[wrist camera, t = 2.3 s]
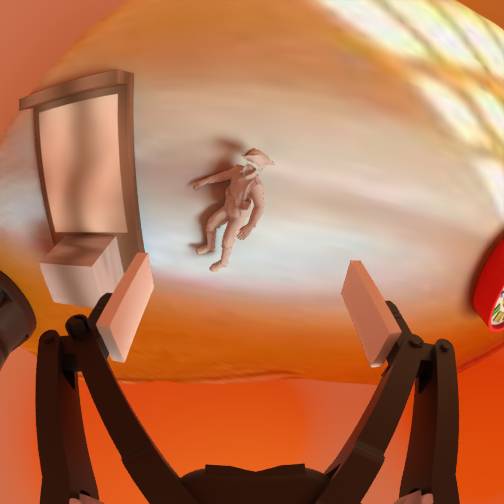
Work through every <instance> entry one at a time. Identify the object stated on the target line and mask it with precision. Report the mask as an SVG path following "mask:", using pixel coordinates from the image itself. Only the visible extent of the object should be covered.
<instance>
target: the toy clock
mask: <svg viewBox="0 0 504 504" xmlns="http://www.w3.org/2000/svg"><path fill="white" fill-rule="evenodd" d="M473 305H474V309H475V310H476V312H477V313H478V314H479V316H480V317H481V318H482V320H483V321H484V322H485V324H486V325H487V326H488V328H489V329H490V330H491V331H492V332H498V331H501V330H503V329H504V238H503V240H502V241H501V242H500V243H499V244H498V246H497V247H496V249H495V250H494V251H493V253H492V255H491V256H490V258H489V259H488V261H487V263H486V265H485V267H484V269H483V271H482V273H481V275H480V277H479V280H478V282H477V285H476V289H475V292H474V298H473Z"/></svg>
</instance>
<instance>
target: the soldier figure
mask: <svg viewBox="0 0 504 504" xmlns="http://www.w3.org/2000/svg"><path fill="white" fill-rule="evenodd" d="M242 156H243V157H244V158H246V159H247V160H248V161H250V162H253V163H256V164H258V165H259V166H260V169H261V168H262V169H263V168H264V166H265V165H269V164H271V165H274V162H273V161H271V160H270V159H269V157H268V156H267V155H266V154H264V153H263V152H262V151H260V150H256V149H255V148H252V149H249V150H247V151H245V152H244V154H242ZM257 170H259V169H257ZM230 179H231V183H230V185H229V186H228V188H227V190H226V193H225V197H226V201H225V204H224V206H223V207H221V208H220V209H219V210H218V211H216V212H215V213H214V214H213V215H212V216H211V217H210V218H209V219H208V221H207V223H208V224H207V225H206V229H205V230H206V233H207V245H205V246H203V247H200V248H198V249H197V250H196V252H197V254H205V253H206V252H208V251H210V252H213V251H215V245H214V244H215V237H216V228H219V227H220V225H223V224H225V223H226V222H227V221H228V223H227V227H226V229H225V232H224V236H223V240H222V248H223V249H222V256H221V260H219V261H218V262H216V263H214V264H212V265H211V267H210V268H209V269H210V270H211V271H212V272H216V271H218V270H219V269H220V268H221V267H226V266H227V264H228V257H229V255H230V253H231V249H232V247H231V246H232V245H233V244H234V242H235V239H236V237H238V236H239V235H240V234H241V233H242V234H241V235H240V236H239V237H238V239H239V238H240V237H241V238H240V240H241V239H242V240H244V239H245V238H246V237H247V236H248V235H249V234H250V232H251V230H252V229H253V227H255V226H256V224H257V221H258V220H259V218H260V216H261V214H262V211H263V208H264V201H263V200H264V197H263V194H264V193H263V184H262V182H261V181H260V179H259V175H258V174H257V172H256V168H254V167H253V166H252V165H251V164H248V162H247V165H246V166H245V167H244V166H242V165H237V166H235V167H233V168H232V169H230V170H227V171H223V172H221V173H218V174H215V175H212V176H210V177H207V178H206V179H203V180H200V181H198V182H196V183H195V184H194V186H193V188H194V190H195V189H196V188H197V189H196V191H197V190H198V189H199V187H201V186H203V185H205V184H206V183H209V184H211V183H216V182H222V181H225V180H230ZM195 186H196V187H195ZM251 199H253V202H254V208H253V210H252V213H251V215H250V219H249V222H248V224H247V225H245V226H243V225H244V222H245V219H246V217H248V215H249V210H250V204H251ZM242 226H243V227H242ZM240 230H241V232H240ZM239 232H240V233H239Z"/></svg>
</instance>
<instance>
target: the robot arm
mask: <svg viewBox="0 0 504 504" xmlns="http://www.w3.org/2000/svg"><path fill="white" fill-rule="evenodd" d="M153 289H154V285H153V279H152V273H151V268H150V262H149V255H148V253H137V254H136V256H135V257H134V259H133V260H132V262H131V264H130V265H129V267H128V269H127V270H126V272H125V273H124V275H123V277H122V278H121V280H120V282H119V284H118V285H117V287H116V289H115V290H114V292H113V293H105V294H104V295H103V296H102V297H100V299H99V300H98V302H97V304H96V305H95V307H94V310H93V311H92V312H91V314H90V316H89V318H87V317H86V316H84V315H81V314H78V315H74V316H72V317H70V318H69V319H68V320H67V322H66V324H65V328H66V330H67V332H68V334H69V336H60V335H59V334H58V332H57V331H55V330H48V331H46V332H44V333H43V334H42V335H41V336H40V339H39V345H38V355H37V368H36V428H37V440H38V451H39V458H40V465H41V472H42V477H43V478H42V486H41V496H40V504H104V503H103V502H101V501H99V495H98V489H97V485H96V481H95V477H94V473H93V470H92V466H91V461H90V458H89V453H88V448H87V444H86V438H85V433H84V427H83V420H82V414H81V406H80V397H79V387H78V374H77V372H79V371H82V373H83V376H84V379H85V381H86V384H87V386H88V389H89V391H90V394H91V396H92V399H93V401H94V403H95V405H96V408H97V410H98V412H99V414H100V416H101V419H102V421H103V423H104V425H105V426H106V429H107V430H108V433H109V435H110V437H111V438H112V440H113V442H114V444H115V446H116V448H117V449H118V451H119V453H120V455H121V457H122V462H123V464H124V466H125V468H126V469H127V471H128V473H129V474H130V476H131V477H132V479H133V480H134V482H135V483H136V485H137V486H138V488H139V489H140V491H141V492H142V494H143V495H144V496H145V498H146V499H147V501H148V502H149V503H150V504H361V503H360V502H361V500H362V499H363V497H364V496H365V494H366V492H367V491H368V489H369V487H370V486H371V484H372V482H373V481H374V479H375V477H376V475H377V473H378V472H379V470H380V468H381V466H382V464H383V462H384V459H385V457H384V453H385V450H386V448H387V446H388V444H389V442H390V440H391V438H392V436H393V434H394V432H395V429H396V427H397V425H398V422H399V420H400V418H401V415H402V413H403V410H404V408H405V405H406V403H407V400H408V397H409V395H410V392H411V389H412V386H413V383H414V380H415V395H414V406H413V416H412V425H411V433H410V439H409V445H408V452H407V457H406V462H405V467H404V471H403V476H402V480H401V486H400V494H399V499H398V500H397V501H396V502H395V503H394V504H460V502H459V494H458V487H457V481H456V475H455V473H456V464H457V453H458V436H459V401H458V383H457V370H456V361H455V353H454V348H453V345H452V344H451V343H450V342H449V341H448V340H445V339H439V340H437V342H436V343H435V345H433V344H427V343H424V341H423V340H422V339H421V338H420V337H419V336H417V335H415V334H412V333H411V331H410V329H409V328H408V326H407V324H406V322H405V321H404V319H403V318H402V315H401V314H400V313H399V310H398V309H397V307H396V306H395V305H394V304H393V303H392V302H391V301H385V300H384V299H383V297H382V295H381V294H380V292H379V290H378V288H377V287H376V285H375V283H374V282H373V280H372V278H371V277H370V275H369V273H368V272H367V270H366V269H365V267H364V265H363V264H362V262H361V261H352V260H350V264H349V268H348V271H347V275H346V278H345V282H344V285H343V289H342V292H341V294H342V297H343V299H344V301H345V304H346V306H347V309H348V311H349V313H350V316H351V318H352V321H353V323H354V326H355V328H356V331H357V333H358V336H359V338H360V341H361V343H362V346H363V349H364V351H365V354H366V357H367V359H368V362H369V365H370V367H378V366H382V365H383V364H384V362H385V360H386V359H387V362H388V364H389V365H388V366H387V368H386V369H385V371H384V372H383V374H382V375H381V376H382V378H381V380H380V383H379V385H378V387H377V389H376V391H375V393H374V395H373V397H372V399H371V401H370V402H369V404H368V406H367V408H366V410H365V412H364V413H363V415H362V417H361V419H360V421H359V422H358V424H357V426H356V427H355V429H354V431H353V433H352V434H351V436H350V437H349V439H348V441H347V442H346V444H345V445H344V447H343V448H342V450H341V451H340V453H339V454H338V456H337V457H336V459H335V460H334V462H333V463H332V464H331V465H330V466H329V467H328V469H327V470H326V471H325V472H324V474H323V473H321V472H319V471H316V470H313V469H309V468H305V464H295V465H281V466H277V467H274V468H270V469H266V470H262V471H258V472H254V471H249V470H244V469H240V468H236V467H232V466H220V465H206V466H205V469H200V470H195V471H193V472H190V473H188V474H186V475H184V476H183V477H181V478H180V477H179V476H178V475H177V473H176V472H175V471H174V470H173V469H172V467H171V466H170V465H169V463H168V462H167V461H166V460H165V458H164V457H163V455H162V454H161V453H160V451H159V450H158V448H157V447H156V445H155V444H154V442H153V441H152V440H151V438H150V436H149V435H148V433H147V432H146V430H145V429H144V427H143V426H142V424H141V423H140V421H139V420H138V417H137V416H136V414H135V413H134V411H133V409H132V407H131V406H130V404H129V402H128V400H127V399H126V397H125V395H124V393H123V391H122V389H121V387H120V385H119V384H118V382H117V380H116V378H115V376H114V374H113V372H112V370H111V368H110V365H109V363H108V361H107V357H108V355H110V357H111V359H112V360H113V361H119V362H124V363H125V360H126V357H127V354H128V352H129V349H130V346H131V344H132V341H133V338H134V336H135V333H136V330H137V328H138V325H139V323H140V320H141V318H142V315H143V313H144V310H145V308H146V305H147V303H148V300H149V298H150V296H151V293H152V291H153ZM35 329H36V319H35V315H34V313H33V310H32V308H31V306H30V304H29V303H28V301H27V299H26V298H25V296H24V295H23V293H22V292H21V291H20V290H19V288H18V287H17V286H16V285H15V284H14V283H13V282H12V281H11V280H10V279H9V278H8V277H7V276H6V275H5V274H3V273H2V272H0V370H1V368H2V366H3V364H4V363H5V361H6V359H7V357H8V355H9V354H10V353H11V352H12V351H13V350H15V349H16V348H17V347H18V346H20V345H21V344H23V343H24V342H25V341H27V340H28V339H29V338H30V337H31V335H32V334H33V332H34V330H35Z"/></svg>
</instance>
